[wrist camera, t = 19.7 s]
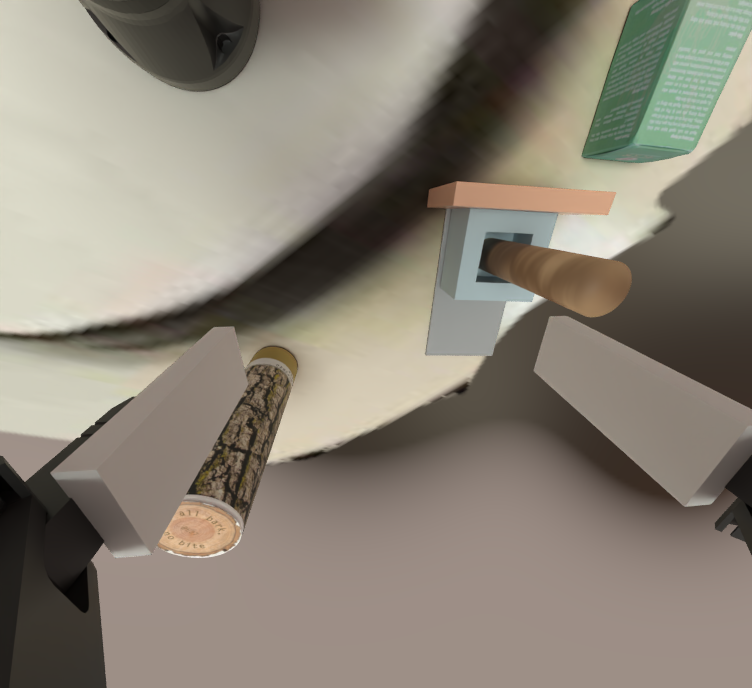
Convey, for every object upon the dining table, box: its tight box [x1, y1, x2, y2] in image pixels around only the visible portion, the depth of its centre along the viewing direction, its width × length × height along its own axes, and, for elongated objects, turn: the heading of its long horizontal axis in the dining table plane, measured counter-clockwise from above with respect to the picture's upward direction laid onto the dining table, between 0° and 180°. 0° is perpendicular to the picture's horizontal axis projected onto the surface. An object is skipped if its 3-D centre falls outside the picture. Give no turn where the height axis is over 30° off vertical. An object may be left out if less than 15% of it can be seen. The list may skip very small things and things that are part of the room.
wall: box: [427, 181, 616, 215], centre depth 31 cm, size 2×16×10 cm, turn 87°
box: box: [582, 0, 752, 163], centre depth 29 cm, size 7×14×8 cm, turn 176°
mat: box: [426, 209, 506, 356], centre depth 40 cm, size 23×11×1 cm, turn 177°
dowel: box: [478, 238, 632, 317], centre depth 27 cm, size 4×4×18 cm
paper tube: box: [157, 347, 297, 558], centre depth 32 cm, size 7×7×25 cm
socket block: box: [440, 208, 558, 302], centre depth 35 cm, size 10×10×6 cm
